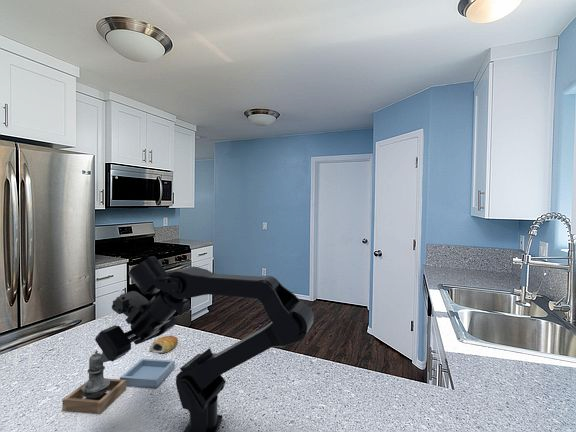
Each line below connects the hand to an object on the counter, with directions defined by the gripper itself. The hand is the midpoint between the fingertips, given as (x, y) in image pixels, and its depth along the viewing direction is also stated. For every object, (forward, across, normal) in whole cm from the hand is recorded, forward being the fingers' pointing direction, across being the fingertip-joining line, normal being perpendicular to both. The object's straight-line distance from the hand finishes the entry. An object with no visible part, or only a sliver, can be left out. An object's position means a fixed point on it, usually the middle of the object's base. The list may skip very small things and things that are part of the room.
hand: (119, 351), depth 71 cm
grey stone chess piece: (+14, 0, +4) cm, 15 cm away
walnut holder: (+14, 0, +4) cm, 15 cm away
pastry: (+17, -28, +2) cm, 32 cm away
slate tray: (+11, -12, +7) cm, 18 cm away
